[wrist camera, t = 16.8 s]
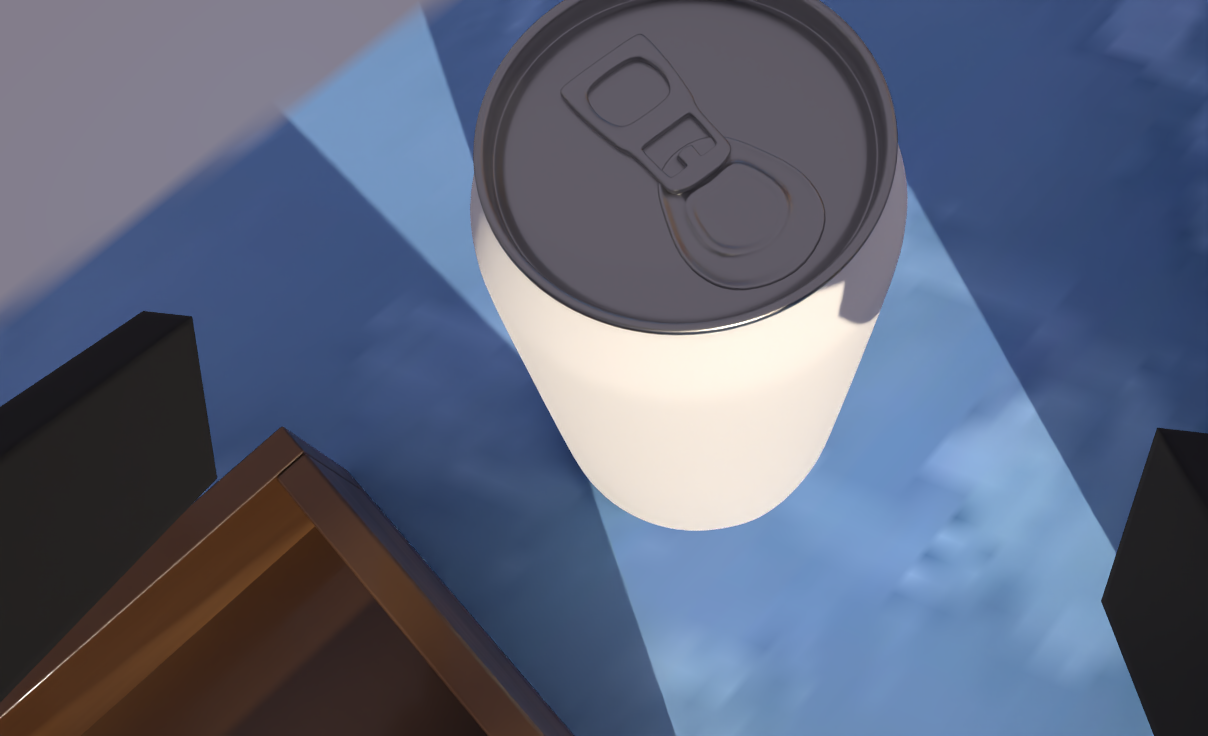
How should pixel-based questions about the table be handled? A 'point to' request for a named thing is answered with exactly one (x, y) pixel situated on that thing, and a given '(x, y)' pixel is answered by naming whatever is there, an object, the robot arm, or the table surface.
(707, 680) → the table surface
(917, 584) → the table surface
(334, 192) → the table surface
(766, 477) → the can
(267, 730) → the wooden box
